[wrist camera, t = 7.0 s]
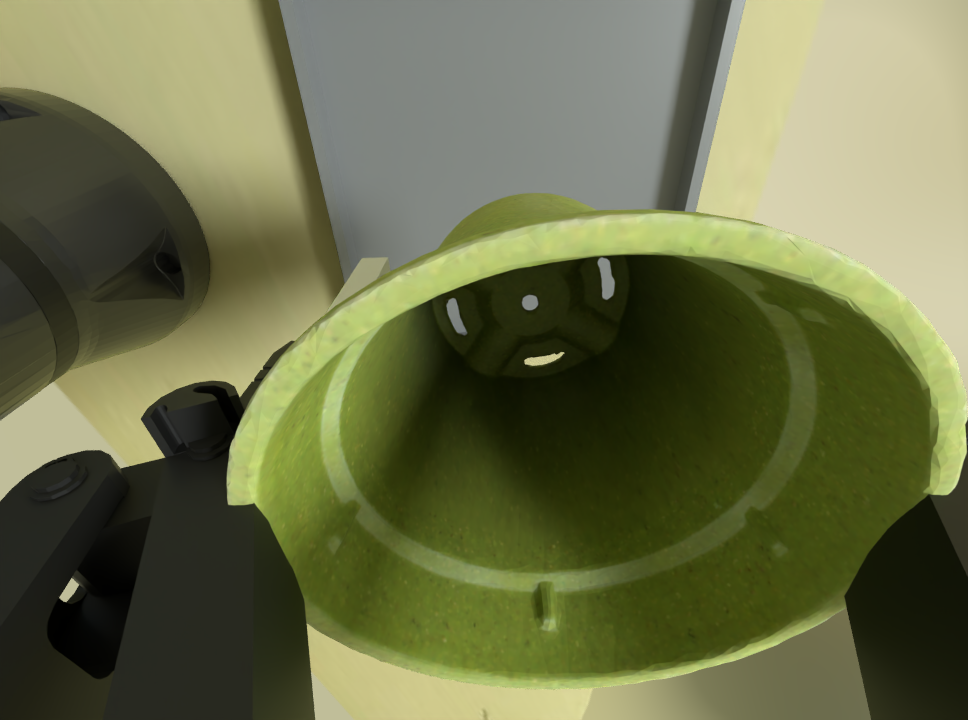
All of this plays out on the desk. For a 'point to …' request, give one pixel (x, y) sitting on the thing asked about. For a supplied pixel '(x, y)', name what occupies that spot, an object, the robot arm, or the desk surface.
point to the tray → (504, 110)
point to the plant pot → (597, 445)
